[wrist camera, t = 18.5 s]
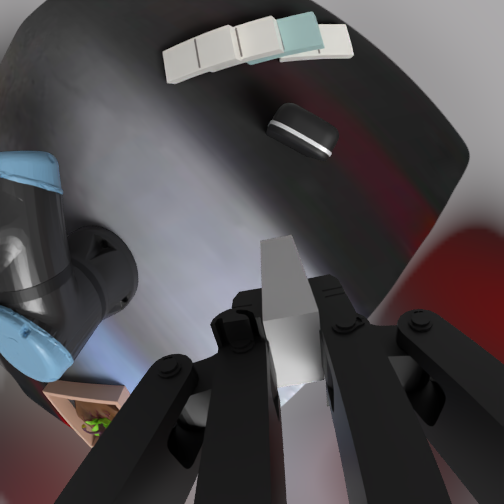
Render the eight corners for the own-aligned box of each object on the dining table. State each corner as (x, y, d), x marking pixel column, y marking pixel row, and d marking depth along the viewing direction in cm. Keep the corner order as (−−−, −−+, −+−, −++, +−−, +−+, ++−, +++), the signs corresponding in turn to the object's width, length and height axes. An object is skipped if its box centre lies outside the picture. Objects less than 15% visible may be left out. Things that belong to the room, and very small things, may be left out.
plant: (74, 411, 60) (59, 438, 49) (81, 379, 54) (62, 411, 43) (134, 443, 64) (125, 472, 53) (153, 418, 57) (142, 454, 47)
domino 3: (245, 62, 30) (322, 44, 26) (238, 31, 28) (312, 11, 24) (251, 65, 32) (325, 48, 27) (244, 34, 30) (315, 16, 26)
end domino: (280, 58, 30) (354, 54, 29) (273, 26, 28) (345, 24, 27) (279, 62, 32) (350, 58, 31) (272, 32, 30) (342, 29, 29)
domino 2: (205, 70, 31) (279, 49, 26) (200, 39, 29) (271, 15, 25) (213, 72, 32) (284, 52, 28) (207, 42, 30) (276, 20, 26)
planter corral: (95, 435, 64) (90, 447, 59) (50, 379, 55) (42, 391, 50) (166, 445, 62) (163, 459, 57) (124, 385, 53) (117, 401, 48)
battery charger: (322, 134, 35) (349, 131, 24) (309, 158, 36) (331, 164, 26) (276, 109, 34) (285, 94, 23) (263, 133, 35) (266, 127, 25)
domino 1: (167, 82, 31) (235, 58, 27) (162, 51, 29) (228, 24, 25) (175, 84, 33) (241, 61, 29) (170, 53, 31) (235, 28, 27)
